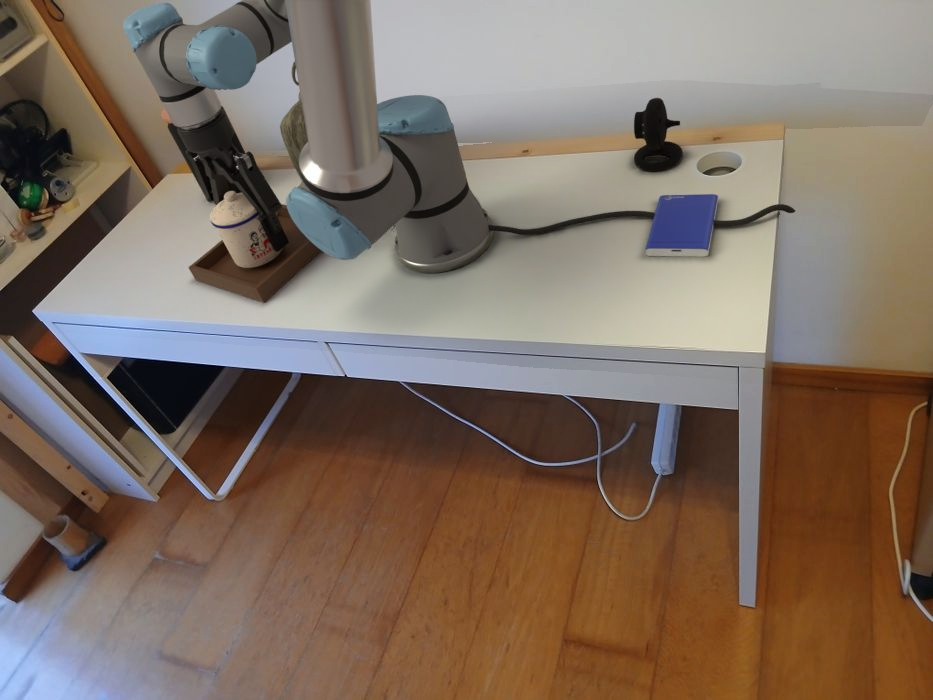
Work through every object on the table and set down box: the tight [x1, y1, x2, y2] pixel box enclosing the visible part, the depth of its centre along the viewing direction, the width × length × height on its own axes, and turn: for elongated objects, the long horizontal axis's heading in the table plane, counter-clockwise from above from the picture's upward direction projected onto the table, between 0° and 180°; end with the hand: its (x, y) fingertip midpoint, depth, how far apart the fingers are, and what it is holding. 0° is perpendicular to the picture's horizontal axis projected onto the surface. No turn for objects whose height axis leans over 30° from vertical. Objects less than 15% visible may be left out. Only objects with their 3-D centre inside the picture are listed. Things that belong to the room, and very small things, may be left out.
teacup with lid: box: [209, 191, 283, 268], centre depth 123 cm, size 12×9×12 cm
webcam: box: [633, 97, 683, 172], centre depth 117 cm, size 8×8×10 cm
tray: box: [188, 203, 323, 304], centre depth 127 cm, size 18×20×3 cm
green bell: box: [279, 60, 308, 179], centre depth 129 cm, size 14×9×25 cm, turn 162°
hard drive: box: [645, 193, 719, 258], centre depth 106 cm, size 2×8×12 cm
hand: (263, 241), depth 126 cm, fingers closed on teacup with lid, 9 cm apart
